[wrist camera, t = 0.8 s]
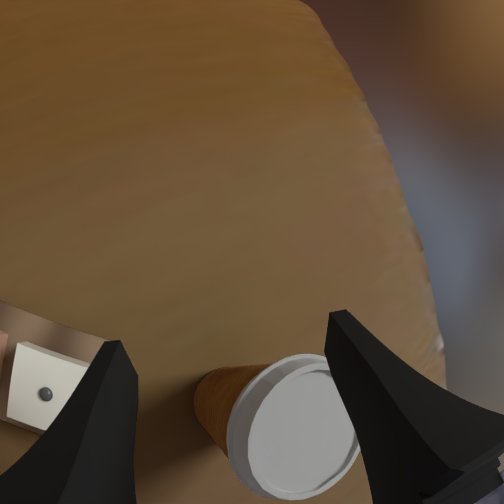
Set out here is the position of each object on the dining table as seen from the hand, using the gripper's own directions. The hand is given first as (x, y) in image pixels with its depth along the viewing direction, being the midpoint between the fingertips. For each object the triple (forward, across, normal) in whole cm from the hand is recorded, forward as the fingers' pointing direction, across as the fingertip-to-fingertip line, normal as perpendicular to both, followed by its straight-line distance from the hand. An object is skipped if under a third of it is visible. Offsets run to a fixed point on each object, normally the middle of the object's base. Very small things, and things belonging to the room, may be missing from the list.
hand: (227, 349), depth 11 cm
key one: (+5, +13, +8) cm, 16 cm away
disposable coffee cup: (+8, +1, +16) cm, 18 cm away
